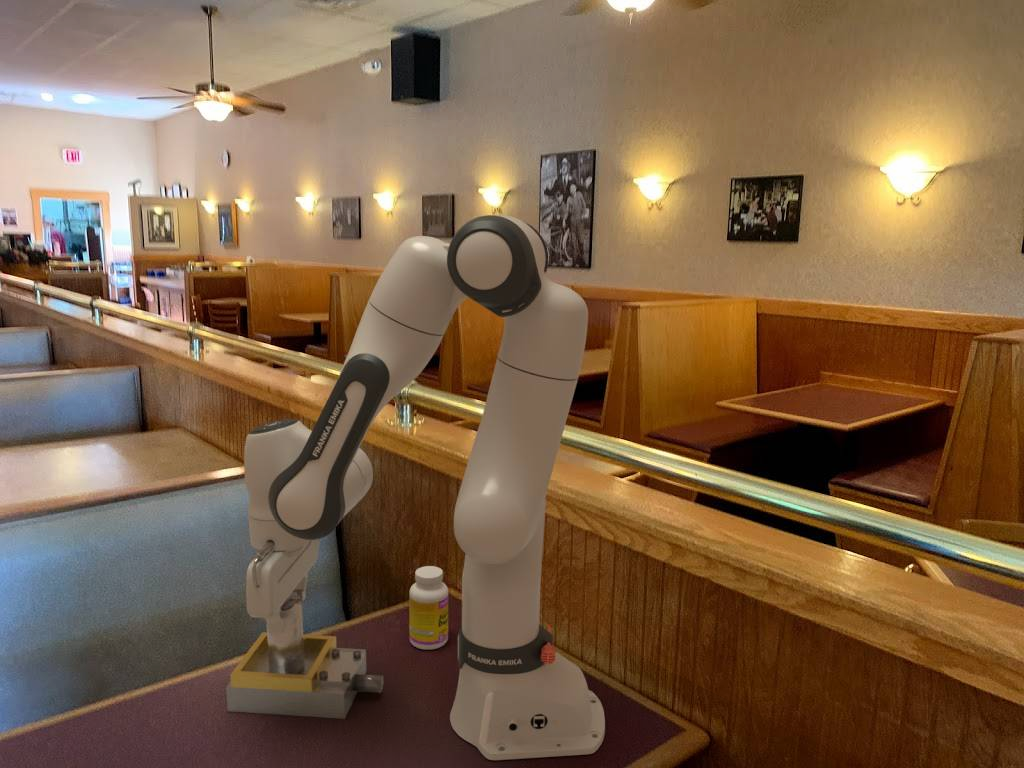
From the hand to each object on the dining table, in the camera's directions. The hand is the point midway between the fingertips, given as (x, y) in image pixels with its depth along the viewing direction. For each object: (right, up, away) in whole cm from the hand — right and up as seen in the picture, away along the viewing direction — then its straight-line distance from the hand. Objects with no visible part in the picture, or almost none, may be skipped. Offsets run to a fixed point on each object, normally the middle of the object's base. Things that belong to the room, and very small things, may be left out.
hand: (288, 615), depth 116 cm
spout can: (-2, -8, +2) cm, 9 cm away
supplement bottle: (+19, -10, +18) cm, 28 cm away
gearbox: (+3, -12, +2) cm, 13 cm away
